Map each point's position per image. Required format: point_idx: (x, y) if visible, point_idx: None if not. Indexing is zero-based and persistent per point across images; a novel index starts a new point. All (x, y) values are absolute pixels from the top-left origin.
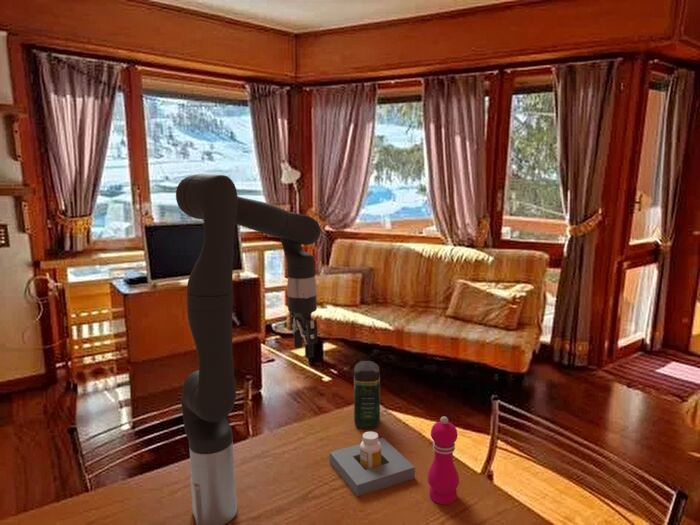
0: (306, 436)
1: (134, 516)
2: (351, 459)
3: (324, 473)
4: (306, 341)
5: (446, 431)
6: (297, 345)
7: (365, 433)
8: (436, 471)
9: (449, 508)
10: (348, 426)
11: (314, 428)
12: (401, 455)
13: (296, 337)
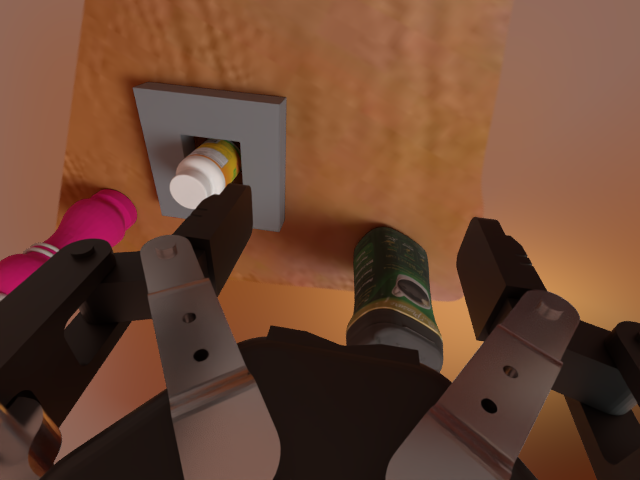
0: (431, 107)
1: None
2: (229, 132)
3: (251, 61)
4: (141, 257)
5: None
6: (470, 241)
7: (199, 188)
8: (66, 219)
9: (86, 195)
10: (401, 214)
11: (451, 146)
12: None
13: (493, 283)
